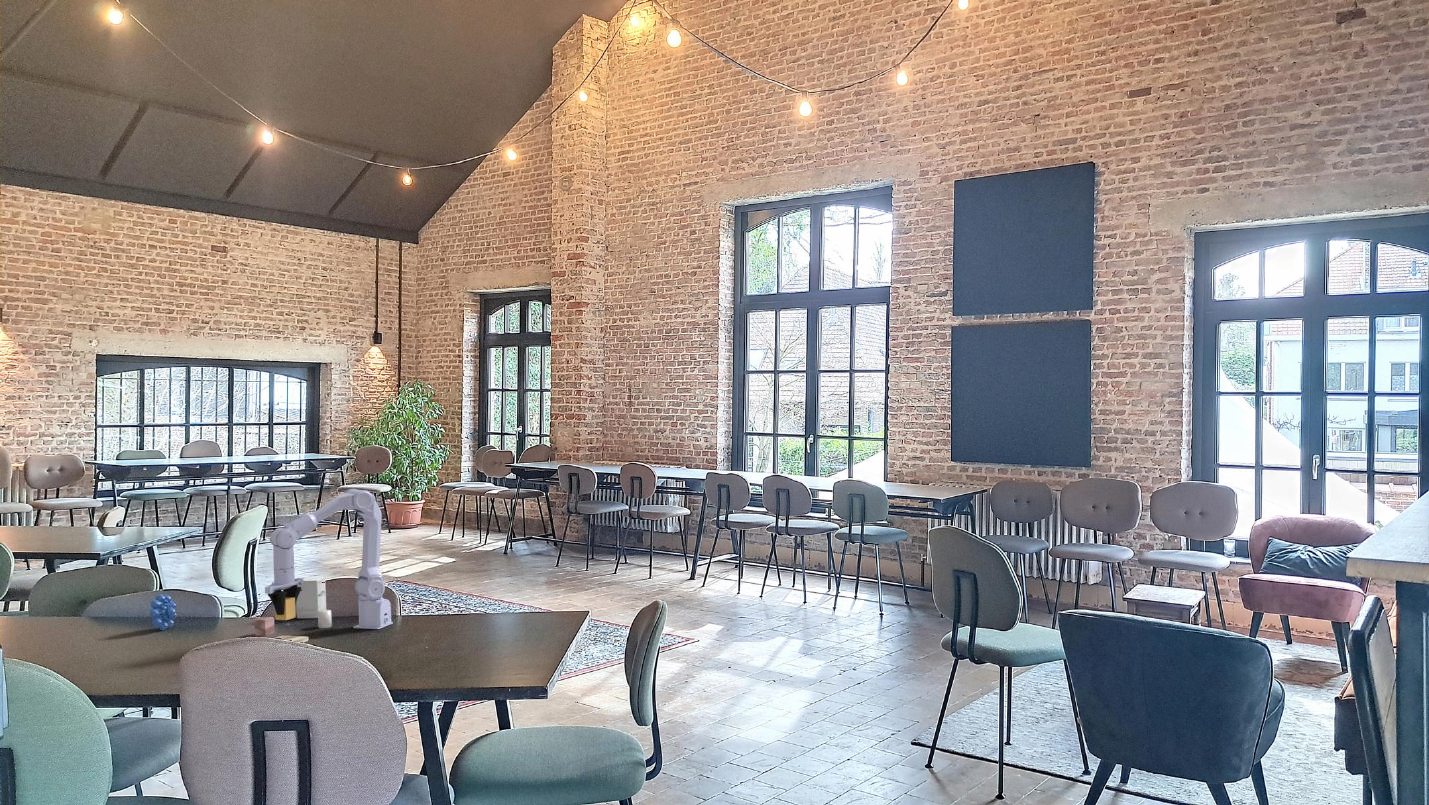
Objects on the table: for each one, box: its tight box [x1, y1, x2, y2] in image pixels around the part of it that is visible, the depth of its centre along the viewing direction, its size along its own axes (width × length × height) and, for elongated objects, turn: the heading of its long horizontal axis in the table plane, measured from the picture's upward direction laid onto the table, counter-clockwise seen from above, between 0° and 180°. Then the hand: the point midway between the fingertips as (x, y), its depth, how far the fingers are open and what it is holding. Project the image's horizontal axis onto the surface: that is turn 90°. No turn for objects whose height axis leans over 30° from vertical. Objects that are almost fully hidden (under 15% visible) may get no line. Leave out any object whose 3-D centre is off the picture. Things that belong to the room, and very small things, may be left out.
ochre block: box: [274, 597, 296, 621], centre depth 307 cm, size 4×4×6 cm
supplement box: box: [296, 576, 327, 619], centre depth 342 cm, size 7×7×13 cm
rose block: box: [253, 616, 276, 637], centre depth 318 cm, size 4×4×5 cm
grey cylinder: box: [317, 609, 333, 629], centre depth 326 cm, size 4×4×5 cm
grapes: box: [148, 593, 178, 631], centre depth 327 cm, size 12×7×12 cm, turn 173°
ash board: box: [274, 635, 309, 644], centre depth 304 cm, size 10×10×1 cm
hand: (285, 613), depth 307 cm, fingers closed on ochre block, 4 cm apart
